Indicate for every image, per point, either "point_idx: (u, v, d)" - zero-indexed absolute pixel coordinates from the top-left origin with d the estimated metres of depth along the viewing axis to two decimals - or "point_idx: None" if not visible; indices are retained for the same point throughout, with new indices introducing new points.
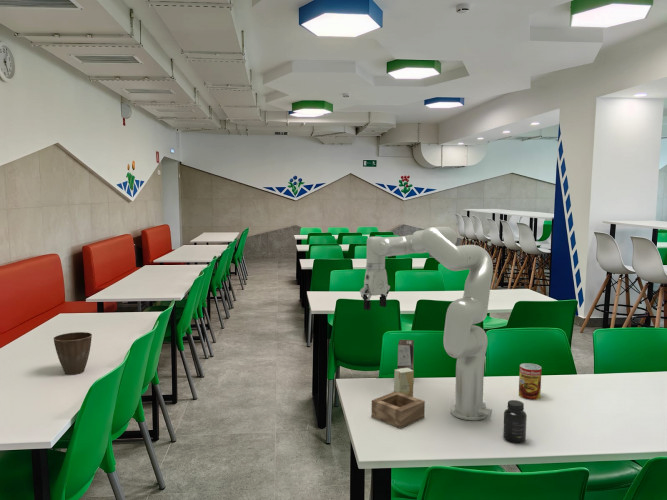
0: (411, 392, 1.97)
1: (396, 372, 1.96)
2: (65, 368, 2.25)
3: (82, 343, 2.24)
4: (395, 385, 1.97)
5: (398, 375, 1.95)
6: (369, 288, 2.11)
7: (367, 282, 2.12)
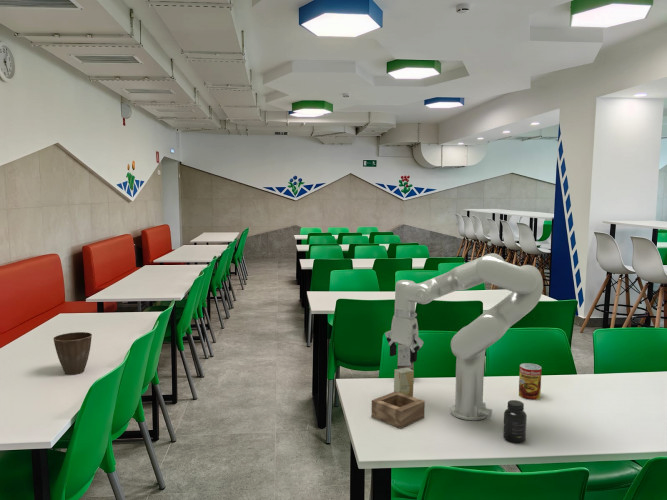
0: (411, 392, 1.97)
1: (396, 372, 1.96)
2: (65, 368, 2.25)
3: (82, 343, 2.24)
4: (395, 385, 1.97)
5: (398, 375, 1.95)
6: None
7: (415, 332, 1.92)
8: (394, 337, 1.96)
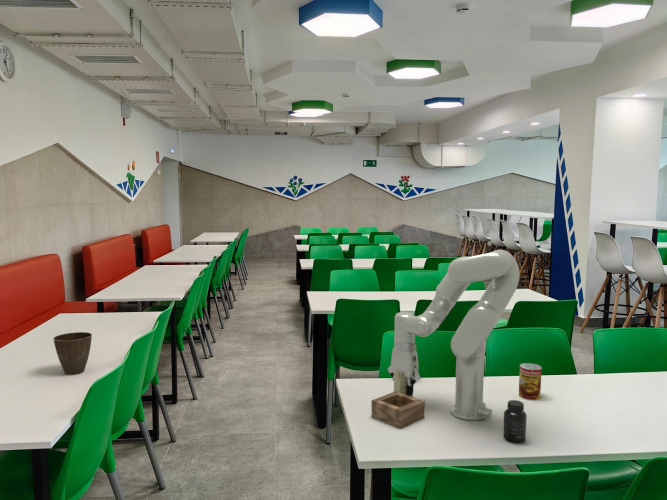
0: None
1: (396, 372, 1.96)
2: (65, 368, 2.25)
3: (82, 343, 2.24)
4: (395, 385, 1.97)
5: (398, 375, 1.95)
6: (417, 369, 1.94)
7: (415, 364, 1.93)
8: (394, 369, 1.97)
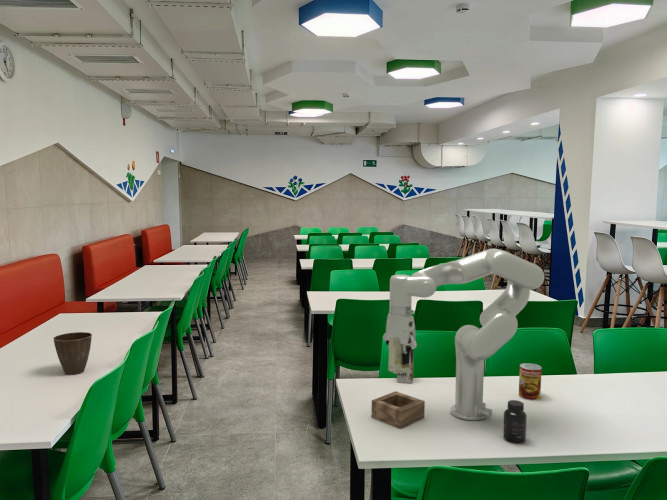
0: None
1: (391, 339, 1.82)
2: (65, 368, 2.25)
3: (82, 343, 2.24)
4: (390, 353, 1.83)
5: (393, 342, 1.80)
6: (413, 336, 1.79)
7: (411, 330, 1.78)
8: (389, 336, 1.83)
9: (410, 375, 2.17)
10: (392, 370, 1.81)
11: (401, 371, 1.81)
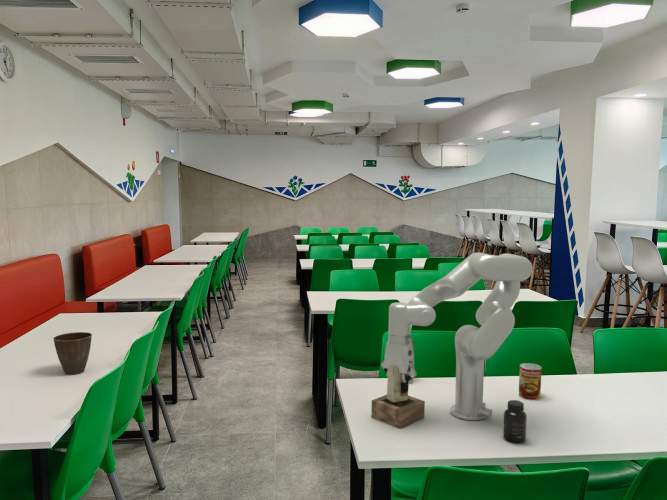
0: None
1: (390, 367, 1.81)
2: (65, 368, 2.25)
3: (82, 343, 2.24)
4: (388, 381, 1.82)
5: (392, 370, 1.79)
6: (412, 364, 1.79)
7: (410, 358, 1.78)
8: (388, 364, 1.82)
9: None
10: (391, 399, 1.80)
11: (400, 400, 1.80)
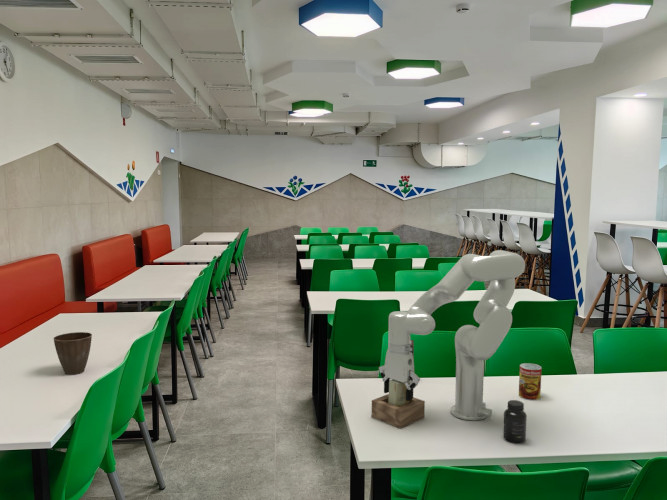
0: None
1: (391, 383, 1.81)
2: (65, 368, 2.25)
3: (82, 343, 2.24)
4: (390, 397, 1.82)
5: (394, 386, 1.80)
6: None
7: (410, 367, 1.78)
8: (388, 373, 1.82)
9: None
10: None
11: None
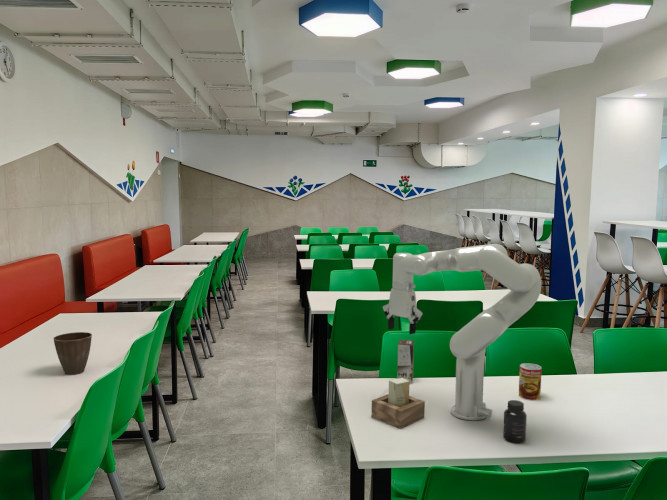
0: None
1: (391, 383, 1.81)
2: (65, 368, 2.25)
3: (82, 343, 2.24)
4: (389, 397, 1.82)
5: (393, 386, 1.80)
6: None
7: (413, 303, 1.93)
8: (392, 310, 1.97)
9: (410, 375, 2.17)
10: None
11: None
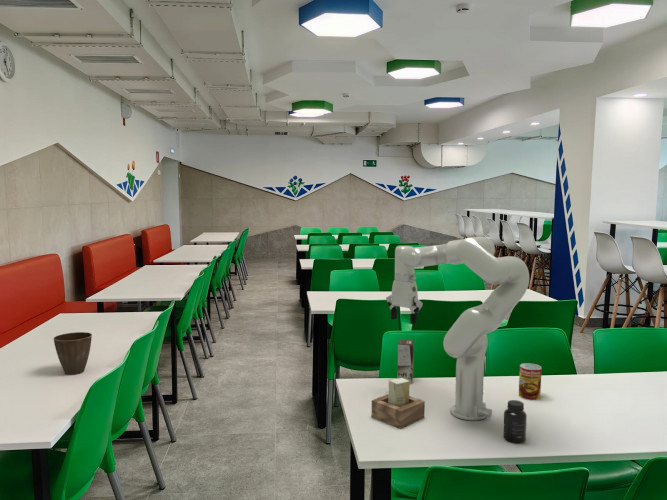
0: None
1: (391, 383, 1.81)
2: (65, 368, 2.25)
3: (82, 343, 2.24)
4: (389, 397, 1.82)
5: (393, 386, 1.80)
6: None
7: (414, 294, 2.01)
8: (395, 301, 2.06)
9: (410, 375, 2.17)
10: None
11: None
